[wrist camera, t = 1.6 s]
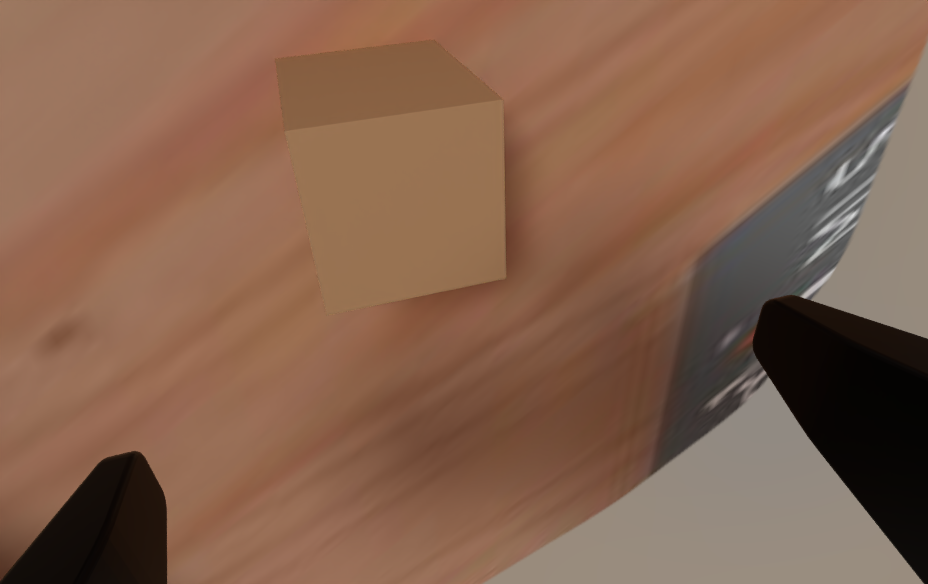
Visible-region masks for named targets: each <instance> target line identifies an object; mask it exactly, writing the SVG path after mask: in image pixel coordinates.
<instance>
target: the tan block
mask: <svg viewBox="0 0 928 584" xmlns="http://www.w3.org/2000/svg"><path fill="white" fill-rule="evenodd" d="M275 63H276V71H277V79H278V86H279V94H280V102H281V109H282V117H283V124H284V132H285V136H286V140H287V145H288V149H289V154H290V158H291V162H292V167H293V171H294V175H295V180H296V184H297V189H298V193H299V197H300V202H301V206H302V210H303V215H304V219H305V224H306V228H307V232H308V237H309V241H310V246H311V250H312V254H313V259H314V263H315V267H316V272H317V276H318V281H319V285H320V289H321V294H322V298H323V303H324V307H325V311H326V316H328V315H333V314H337V313H342V312H347V311H352V310H357V309H361V308H366V307H371V306H376V305H381V304H386V303H390V302H395V301H400V300H405V299H410V298H414V297H419V296H424V295H429V294H434V293H438V292H443V291H448V290H453V289H458V288H463V287H467V286H472V285H477V284H482V283H487V282H491V281H496V280H501V279H506V234H505V169H504V104H503V99H502V98H501V97H500V96H499V95H498V94H497V93H495V92H494V91H493V90H492V89H491V88H490V87H488V86H487V85H486V84H485V83H484V82H483V81H481V80H480V79H479V78H478V77H477V76H476V75H474V74H473V73H472V72H471V71H470V70H469V69H467V68H466V67H465V66H464V65H463V64H462V63H460V62H459V61H458V60H457V59H456V58H455V57H453V56H452V55H451V54H450V53H449V52H448V51H446V50H445V49H444V48H443V47H442V46H441V45H439V44H438V43H437V42H436V41H435V40H426V41H418V42H410V43H401V44H393V45H385V46H376V47H368V48H360V49H352V50H343V51H335V52H327V53H318V54H310V55H302V56H294V57H285V58H277V59H275Z"/></svg>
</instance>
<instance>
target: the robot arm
mask: <svg viewBox="0 0 928 584" xmlns="http://www.w3.org/2000/svg"><path fill="white" fill-rule="evenodd" d="M753 351H754V353H755V356H756V358H757V359H758V361H759V362H760V364H761V365H762V367H763V369H764V370H765V372H766V373H767V375H768V376H769V378H770V379H771V381H772V382H773V384H774V385H775V387H776V389H777V390H778V392H779V393H780V395H781V396H782V398H783V400H784V401H785V403H786V404H787V406H788V407H789V409H790V410H791V412H792V413H793V415H794V416H795V418H796V420H797V421H798V423H799V424H800V426H801V427H802V428H803V430H804V432H805V433H806V435H807V436H808V437H809V439H810V440H811V441H812V443H813V444H814V445H815V447H816V448H817V449H818V451H819V452H820V453H821V454H822V455H823V457H824V458H825V459H826V461H827V462H828V463H829V464H830V466H831V467H832V468H833V470H834V471H835V472H836V473H837V474H838V476H839V477H840V478H841V480H842V481H843V482H844V483H845V485H846V486H847V487H848V488H849V490H850V491H851V492H852V493H853V495H854V496H855V497H856V498H857V500H858V501H859V502H860V503H861V505H862V506H863V507H864V509H865V510H866V511H867V512H868V514H869V515H870V516H871V517H872V519H873V520H874V521H875V523H876V524H877V525H878V526H879V528H880V529H881V530H882V531H883V533H884V534H885V535H886V536H887V538H888V539H889V540H890V541H891V543H892V544H893V545H894V546H895V548H896V549H897V550H898V552H899V553H900V554H901V555H902V556H903V558H904V559H905V560H906V561H907V563H908V564H909V565H910V567H911V568H912V569H913V570H914V571H915V573H916V574H917V576H918V577H919V578H920V579H921V580H922V582H923V583H924V584H928V339H927V338H923V337H921V336H917V335H915V334H912V333H908V332H905V331H902V330H899V329H896V328H893V327H890V326H887V325H884V324H881V323H878V322H875V321H872V320H869V319H865V318H863V317H859V316H856V315H853V314H850V313H847V312H844V311H841V310H838V309H835V308H832V307H829V306H826V305H823V304H820V303H817V302H814V301H811V300H808V299H805V298H802V297H798V296H795V295H787V296H783V297H778V298H774V299H770V300H768V301H766V302H765V304H764V305H763V307H762V309H761V312H760V316H759V320H758V323H757V327H756V330H755V334H754V337H753ZM0 584H167V507H166V500H165V496H164V492H163V490H162V488H161V486H160V484H159V483H158V481H157V479H156V477H155V475H154V473H153V471H152V470H151V468H150V466H149V464H148V462H147V460H146V458H145V457H144V456H143V454H141V453H140V452H138V451H132V452H127V453H123V454H119V455H115V456H111V457H107V458H105V459H103V460H102V461H101V462H99V463H98V464H97V466H96V467H95V468H94V469H93V470H92V472H91V473H90V474H89V475H88V476H87V478H86V479H85V480H84V481H83V482H82V484H81V485H80V486H79V487H78V488H77V490H76V491H75V492H74V493H73V495H72V496H71V497H70V498H69V499H68V501H67V502H66V503H65V504H64V505H63V507H62V508H61V509H60V510H59V511H58V513H57V514H56V515H55V516H54V517H53V519H52V520H51V521H50V522H49V523H48V525H47V526H46V527H45V528H44V529H43V531H42V532H41V533H40V534H39V535H38V537H37V538H36V539H35V540H34V541H33V543H32V544H31V545H30V546H29V547H28V549H27V550H26V551H25V552H24V553H23V555H22V556H21V557H20V558H19V559H18V561H17V562H16V563H15V564H14V565H13V567H12V568H11V569H10V570H9V571H8V573H7V574H6V575H5V576H4V577H3V579H2V580H1V581H0Z"/></svg>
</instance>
